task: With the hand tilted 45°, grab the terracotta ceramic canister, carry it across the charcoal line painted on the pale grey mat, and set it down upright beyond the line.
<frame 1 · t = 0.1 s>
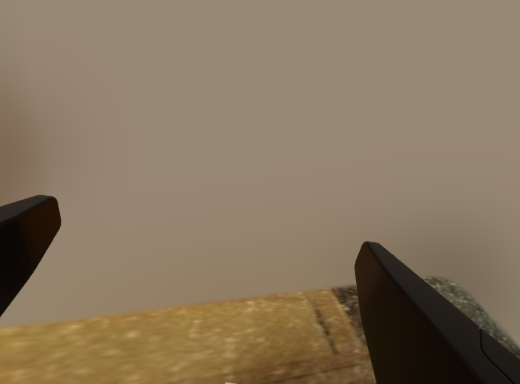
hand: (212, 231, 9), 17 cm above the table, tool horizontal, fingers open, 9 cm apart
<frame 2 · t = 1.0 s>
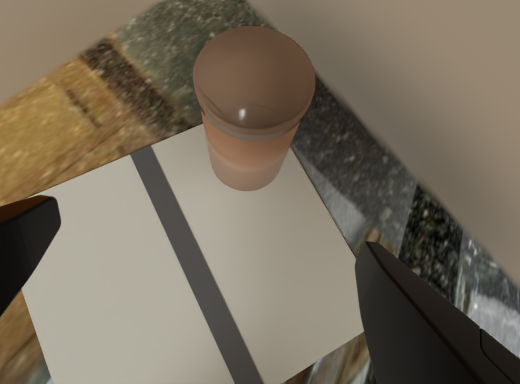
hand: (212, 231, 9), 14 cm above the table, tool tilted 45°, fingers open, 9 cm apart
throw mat: (193, 263, 22), on the table
canister: (246, 156, 25), resting on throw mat
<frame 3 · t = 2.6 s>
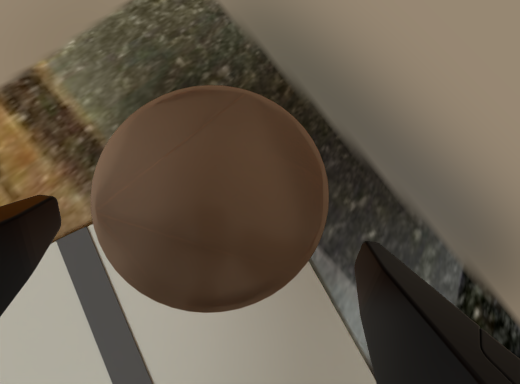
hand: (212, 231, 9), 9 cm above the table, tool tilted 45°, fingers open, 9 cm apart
canister: (224, 238, 17), resting on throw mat
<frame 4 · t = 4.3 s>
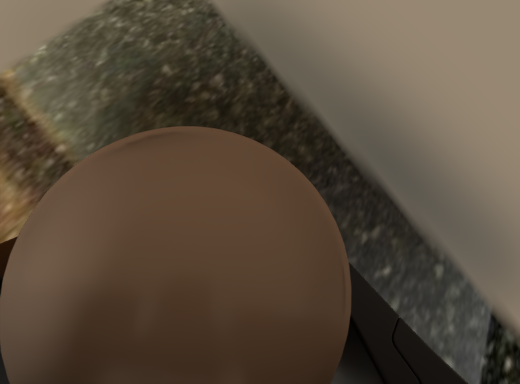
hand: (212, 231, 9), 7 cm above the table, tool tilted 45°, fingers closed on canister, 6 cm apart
canister: (216, 278, 15), resting on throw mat, touching gripper
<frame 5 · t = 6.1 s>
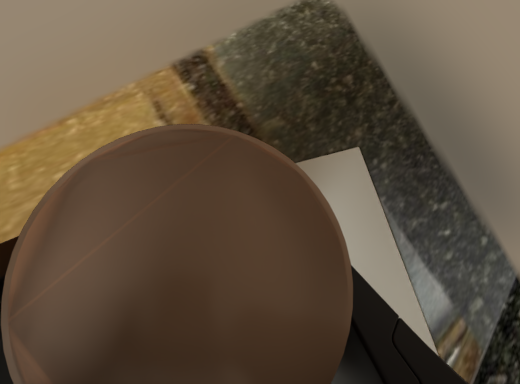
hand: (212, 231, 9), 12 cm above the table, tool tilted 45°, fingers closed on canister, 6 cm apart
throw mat: (259, 320, 20), on the table
canister: (216, 277, 15), point 6 cm above the table, touching gripper
when the fingers open (8 cm above the table, at t = 8.3 s): canister drops 1 cm, resting on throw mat.
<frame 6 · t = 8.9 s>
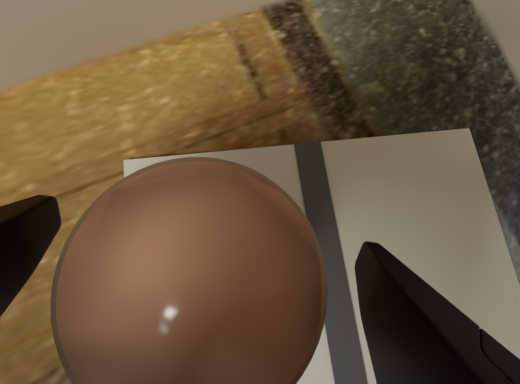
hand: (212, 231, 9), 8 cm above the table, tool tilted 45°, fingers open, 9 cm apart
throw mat: (336, 311, 17), on the table
canister: (217, 279, 16), resting on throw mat
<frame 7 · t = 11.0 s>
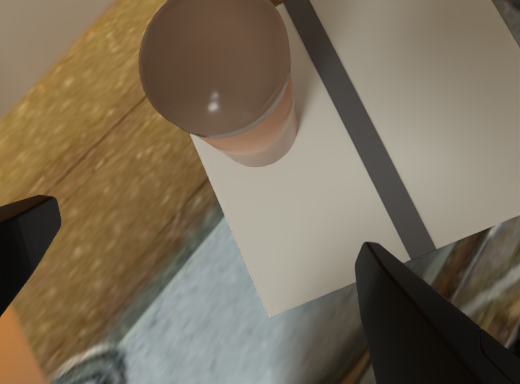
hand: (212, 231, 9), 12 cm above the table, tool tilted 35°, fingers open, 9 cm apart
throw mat: (354, 119, 21), on the table
canister: (256, 126, 22), resting on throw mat
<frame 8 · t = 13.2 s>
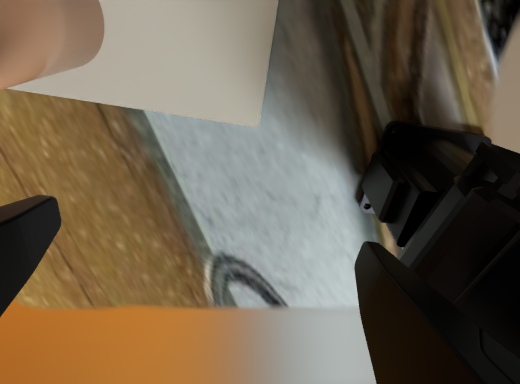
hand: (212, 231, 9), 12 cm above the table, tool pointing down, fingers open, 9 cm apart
canister: (51, 13, 17), resting on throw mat
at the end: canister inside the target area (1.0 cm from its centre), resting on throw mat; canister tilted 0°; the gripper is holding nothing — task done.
